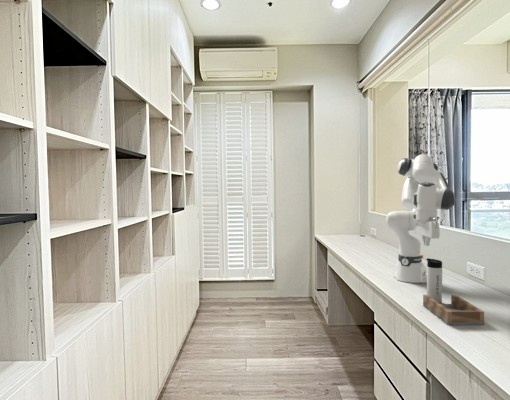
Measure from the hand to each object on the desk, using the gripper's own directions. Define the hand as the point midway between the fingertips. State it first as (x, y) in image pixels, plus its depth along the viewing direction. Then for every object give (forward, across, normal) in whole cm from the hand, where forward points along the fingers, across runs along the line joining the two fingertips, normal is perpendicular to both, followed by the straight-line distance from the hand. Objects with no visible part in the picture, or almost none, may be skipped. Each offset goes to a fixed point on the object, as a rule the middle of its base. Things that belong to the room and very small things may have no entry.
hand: (426, 245), depth 178 cm
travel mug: (+25, -8, 0) cm, 27 cm away
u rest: (+25, -24, 0) cm, 35 cm away
